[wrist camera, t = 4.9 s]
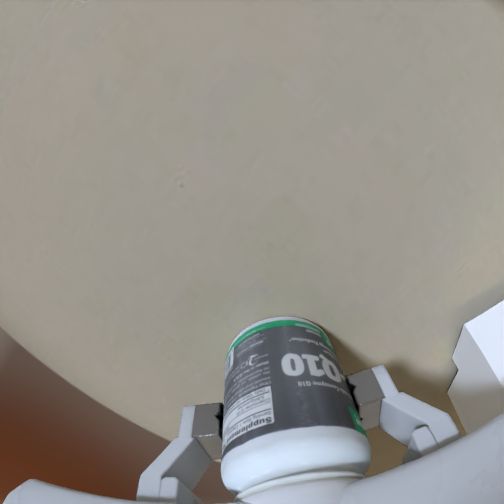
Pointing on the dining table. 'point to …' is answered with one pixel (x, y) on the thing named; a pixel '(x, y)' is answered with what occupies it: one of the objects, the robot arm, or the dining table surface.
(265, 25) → the dining table surface
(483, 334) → the bracket
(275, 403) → the pill bottle
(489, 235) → the dining table surface
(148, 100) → the dining table surface
